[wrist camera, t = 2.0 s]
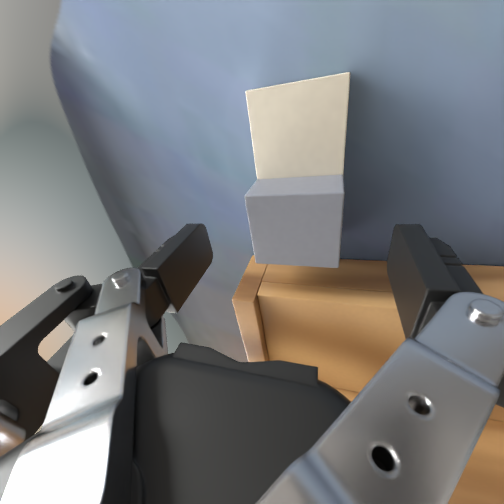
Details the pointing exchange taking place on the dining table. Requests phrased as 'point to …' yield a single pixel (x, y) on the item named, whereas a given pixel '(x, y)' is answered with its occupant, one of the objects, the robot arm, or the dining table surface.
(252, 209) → the block chair shape
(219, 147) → the dining table surface
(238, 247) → the dining table surface
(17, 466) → the robot arm
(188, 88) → the dining table surface
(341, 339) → the stepped wooden ledge
